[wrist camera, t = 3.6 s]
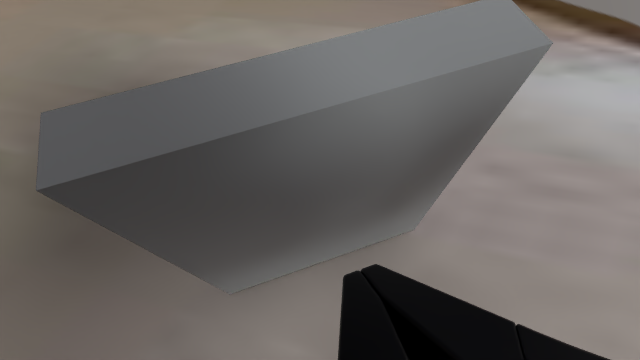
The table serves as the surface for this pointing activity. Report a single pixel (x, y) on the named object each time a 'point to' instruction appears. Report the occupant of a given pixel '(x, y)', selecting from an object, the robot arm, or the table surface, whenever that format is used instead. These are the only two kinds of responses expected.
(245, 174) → the grey tile
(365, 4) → the table surface
